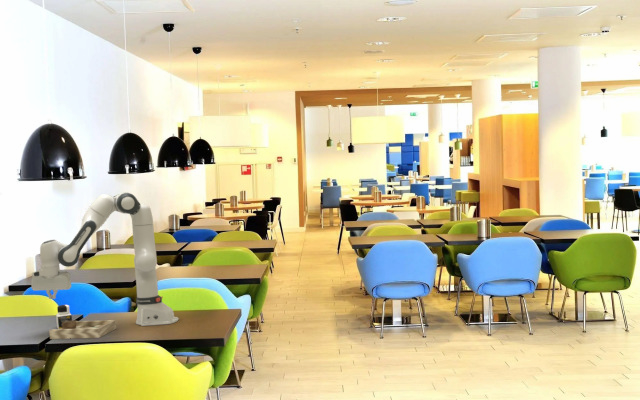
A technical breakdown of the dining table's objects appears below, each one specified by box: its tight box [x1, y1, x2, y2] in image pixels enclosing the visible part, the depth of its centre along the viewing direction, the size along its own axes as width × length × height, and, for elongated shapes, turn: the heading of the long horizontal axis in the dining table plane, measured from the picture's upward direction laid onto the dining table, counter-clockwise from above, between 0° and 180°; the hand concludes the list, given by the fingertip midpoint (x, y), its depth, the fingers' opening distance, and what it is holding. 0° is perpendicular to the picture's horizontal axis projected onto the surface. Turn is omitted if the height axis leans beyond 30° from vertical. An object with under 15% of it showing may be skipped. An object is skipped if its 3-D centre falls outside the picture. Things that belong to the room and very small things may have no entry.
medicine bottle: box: [55, 304, 73, 329], centre depth 390 cm, size 7×7×12 cm
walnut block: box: [62, 319, 77, 329], centre depth 371 cm, size 5×5×4 cm
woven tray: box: [48, 319, 117, 340], centre depth 371 cm, size 26×20×4 cm
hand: (52, 298), depth 372 cm, fingers closed
